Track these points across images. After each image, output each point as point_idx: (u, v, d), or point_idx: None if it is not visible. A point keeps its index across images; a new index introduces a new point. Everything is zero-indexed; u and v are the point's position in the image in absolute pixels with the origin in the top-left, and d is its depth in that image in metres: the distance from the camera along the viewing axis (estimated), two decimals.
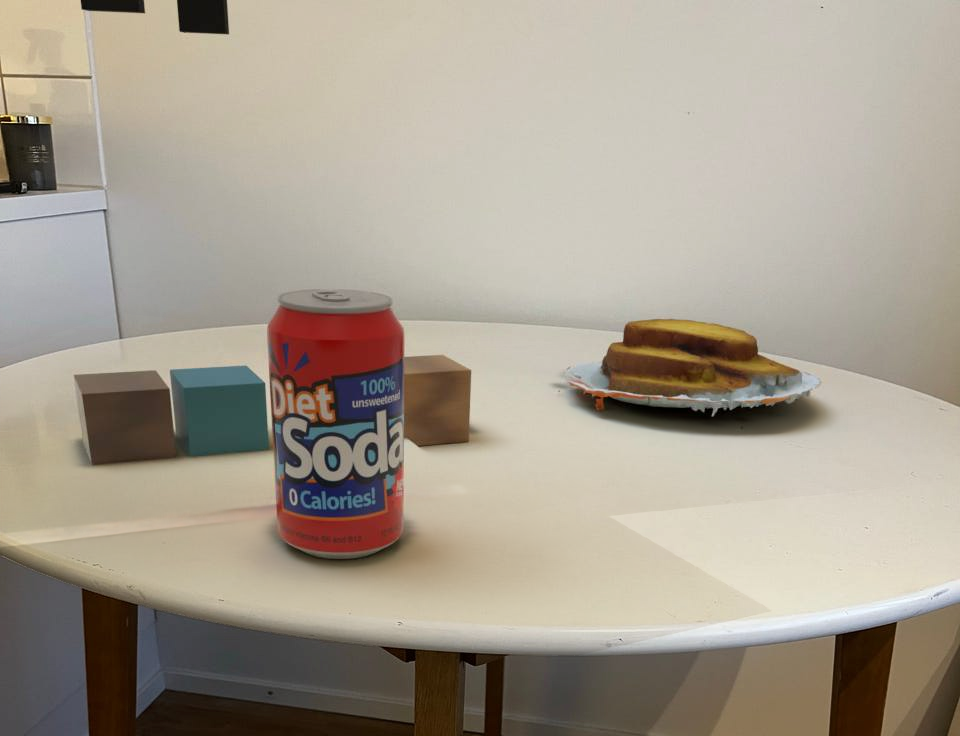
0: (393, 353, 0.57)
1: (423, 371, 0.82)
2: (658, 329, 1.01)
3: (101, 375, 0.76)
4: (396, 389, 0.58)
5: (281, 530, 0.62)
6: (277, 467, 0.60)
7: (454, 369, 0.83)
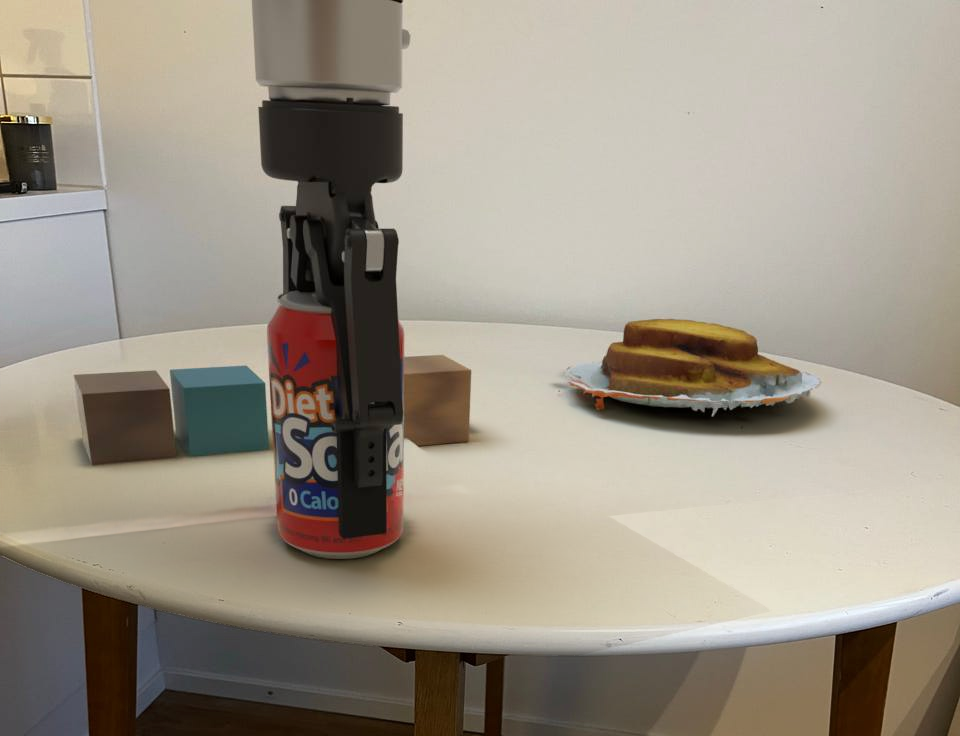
0: None
1: (423, 371, 0.82)
2: (658, 329, 1.01)
3: (101, 375, 0.76)
4: None
5: (281, 530, 0.62)
6: (277, 467, 0.60)
7: (454, 369, 0.83)
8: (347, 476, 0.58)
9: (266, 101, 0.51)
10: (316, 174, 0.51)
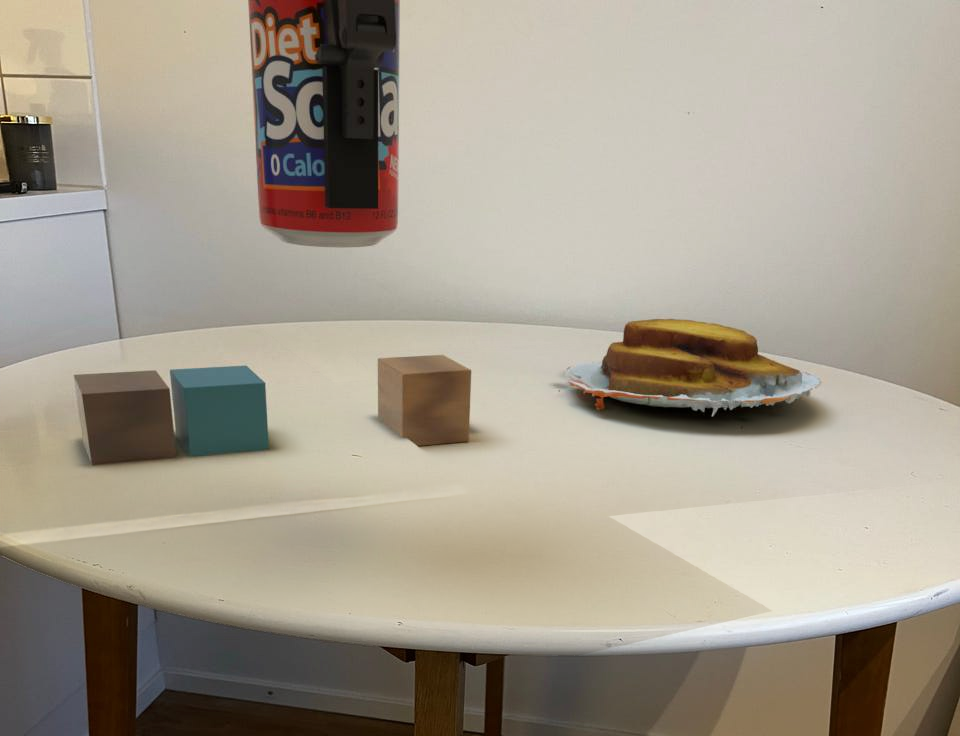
0: None
1: (423, 371, 0.82)
2: (658, 329, 1.01)
3: (101, 375, 0.76)
4: None
5: (263, 214, 0.56)
6: (258, 134, 0.54)
7: (454, 369, 0.83)
8: (334, 128, 0.52)
9: None
10: None
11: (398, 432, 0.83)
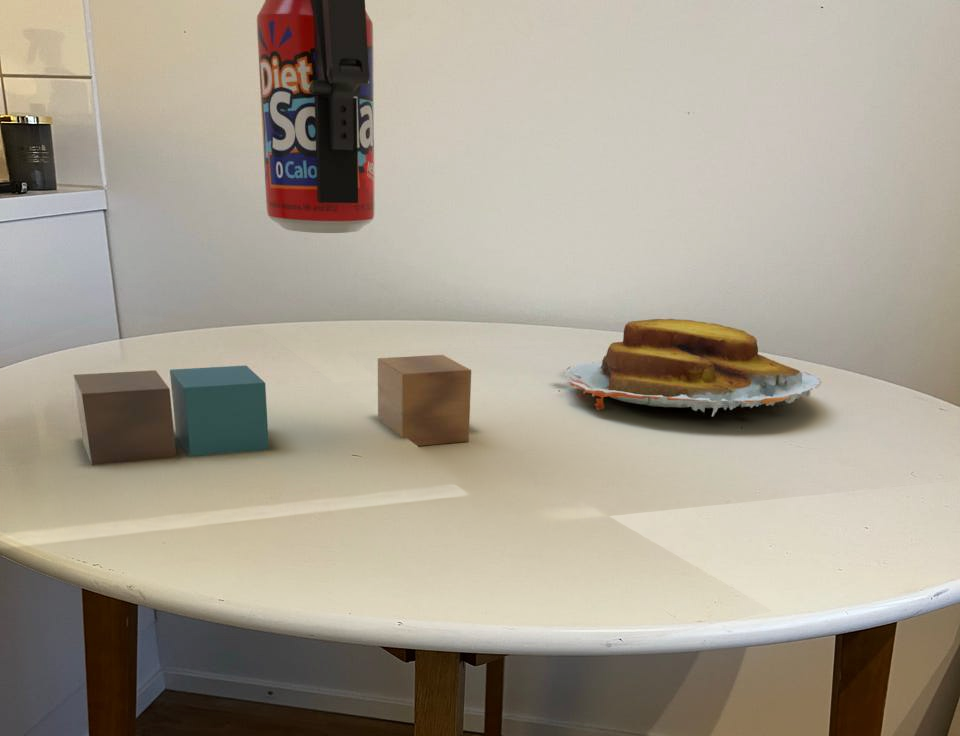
0: None
1: (423, 371, 0.82)
2: (658, 329, 1.01)
3: (101, 375, 0.76)
4: None
5: (269, 208, 0.73)
6: (266, 146, 0.71)
7: (454, 369, 0.83)
8: (324, 142, 0.68)
9: None
10: None
11: (398, 432, 0.83)
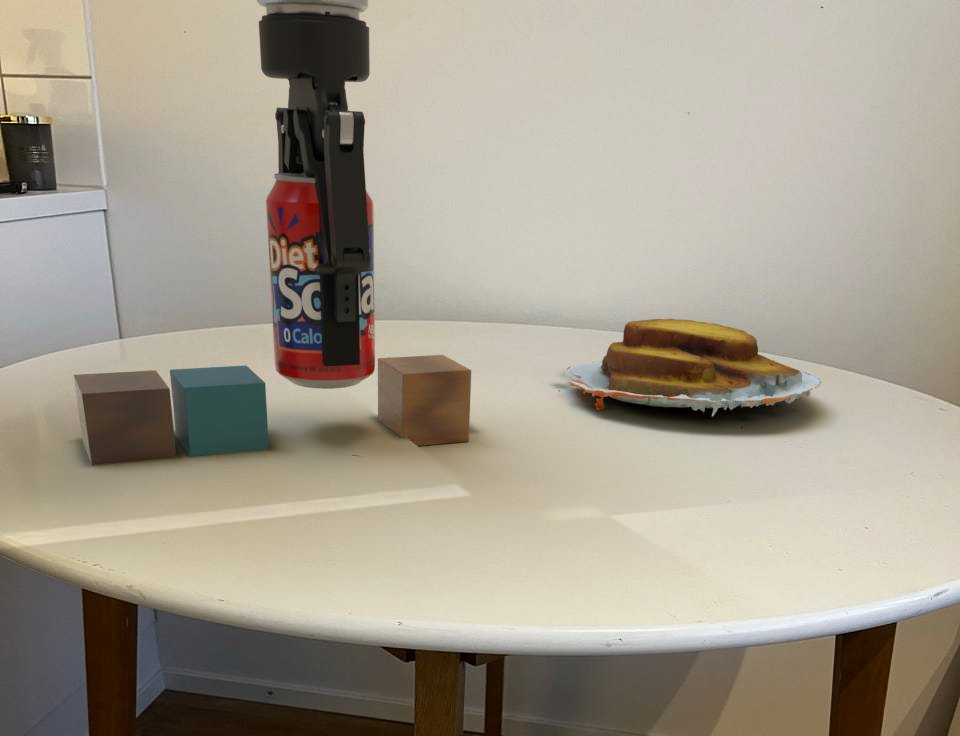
0: None
1: (423, 371, 0.82)
2: (658, 329, 1.01)
3: (101, 375, 0.76)
4: None
5: (278, 366, 0.79)
6: (274, 312, 0.77)
7: (454, 369, 0.83)
8: (328, 314, 0.74)
9: (265, 16, 0.68)
10: (302, 71, 0.68)
11: (398, 432, 0.83)
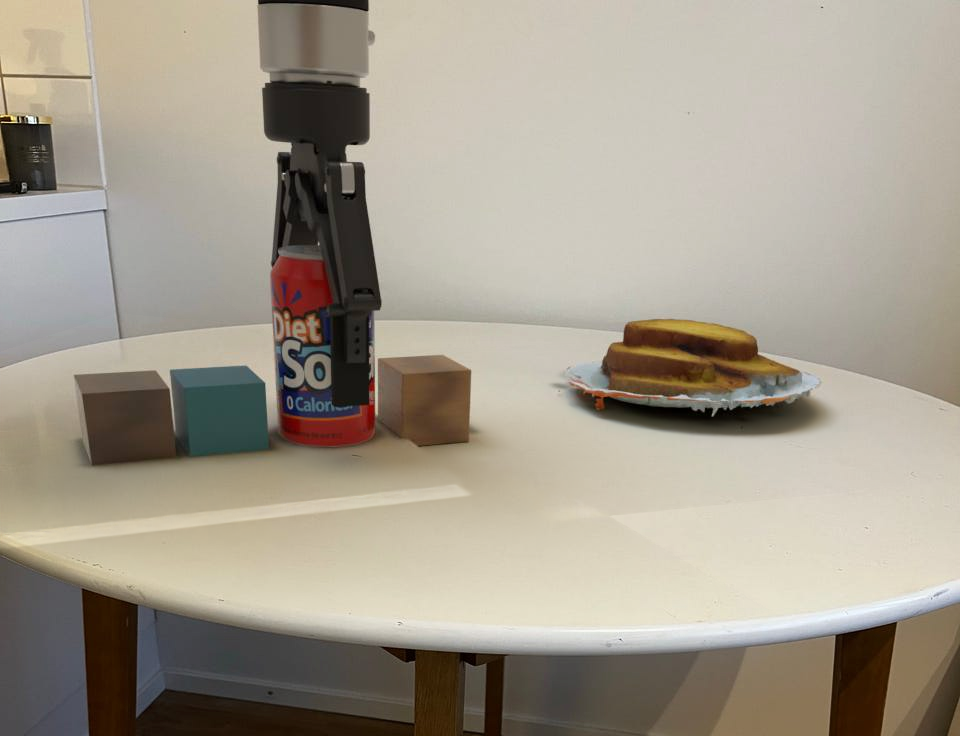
0: None
1: (423, 371, 0.82)
2: (658, 329, 1.01)
3: (101, 375, 0.76)
4: None
5: (281, 430, 0.81)
6: (277, 380, 0.79)
7: (454, 369, 0.83)
8: (338, 355, 0.73)
9: (268, 83, 0.70)
10: (304, 137, 0.70)
11: (398, 432, 0.83)
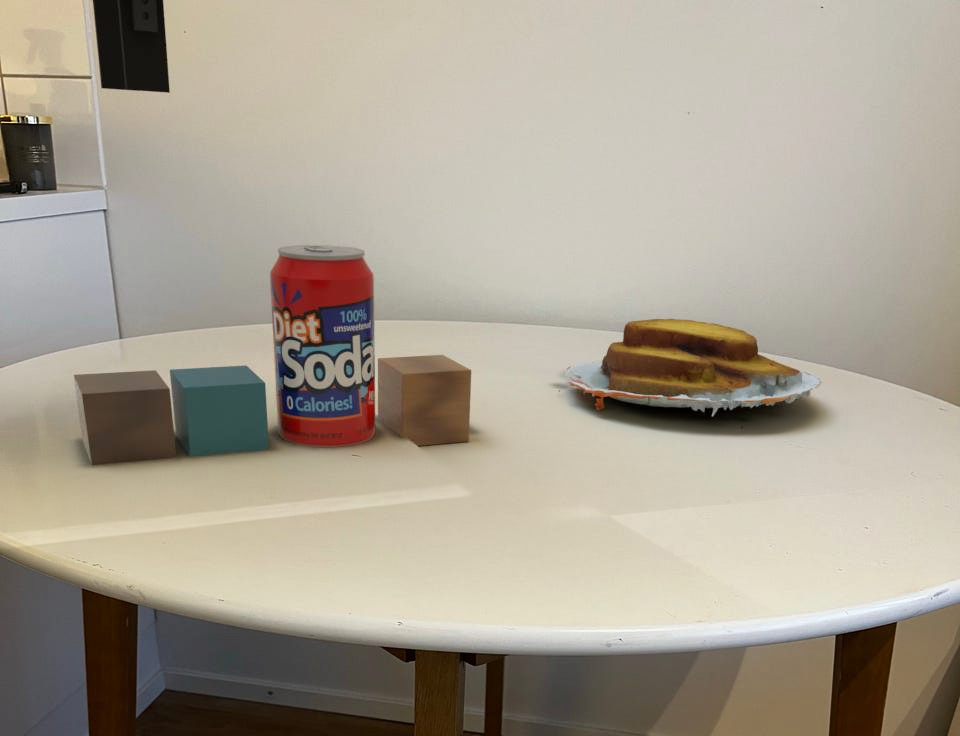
0: (364, 291, 0.76)
1: (423, 371, 0.82)
2: (658, 329, 1.01)
3: (101, 375, 0.76)
4: (367, 319, 0.77)
5: (281, 430, 0.81)
6: (277, 380, 0.79)
7: (454, 369, 0.83)
8: (127, 23, 0.65)
9: None
10: None
11: (398, 432, 0.83)
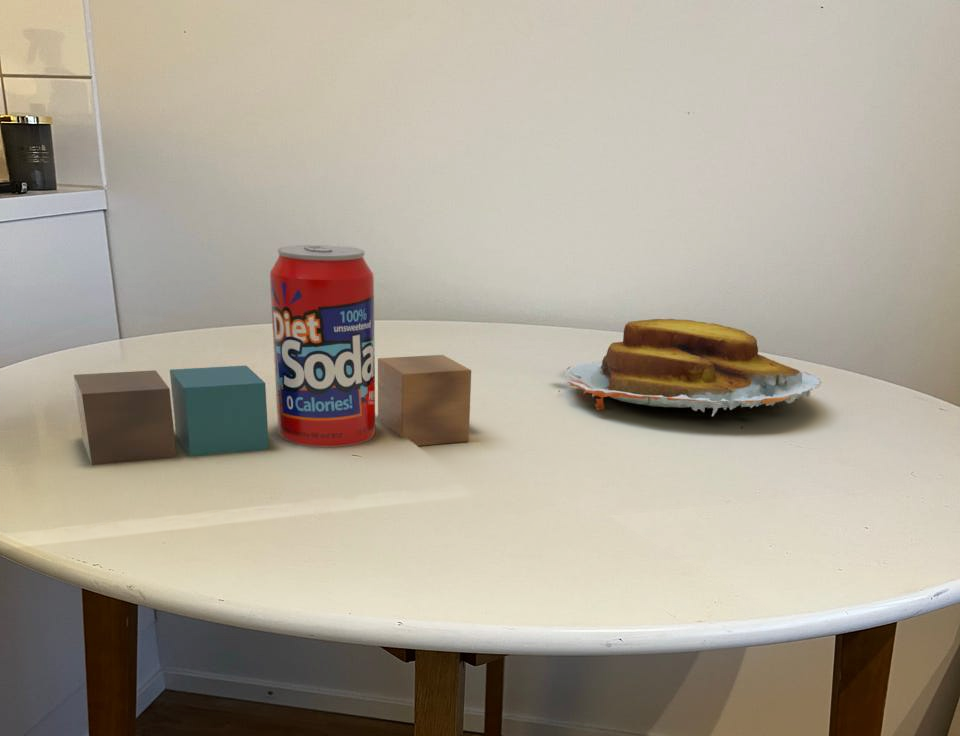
0: (364, 291, 0.76)
1: (423, 371, 0.82)
2: (658, 329, 1.01)
3: (101, 375, 0.76)
4: (367, 319, 0.77)
5: (281, 430, 0.81)
6: (277, 380, 0.79)
7: (454, 369, 0.83)
8: None
9: None
10: None
11: (398, 432, 0.83)
